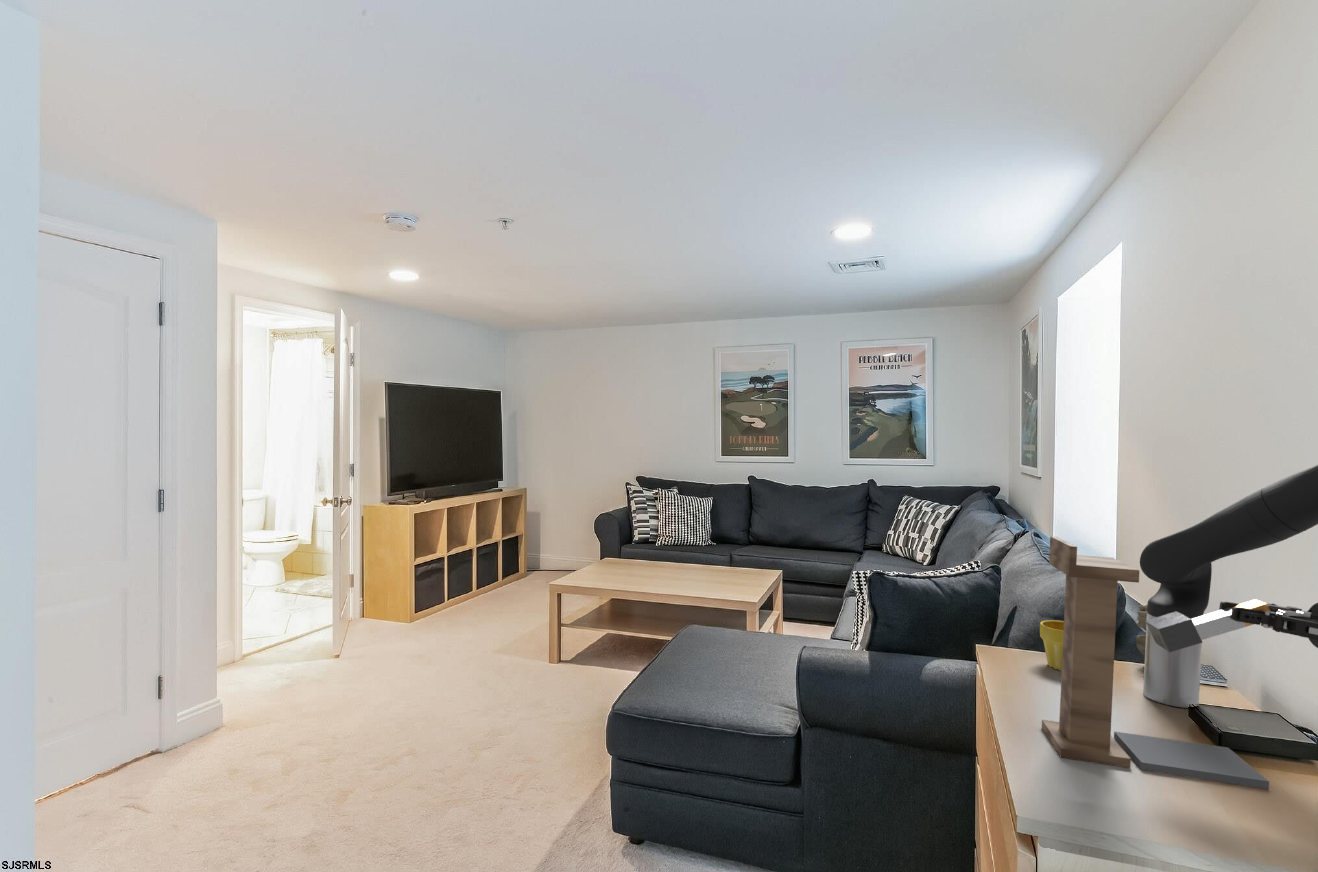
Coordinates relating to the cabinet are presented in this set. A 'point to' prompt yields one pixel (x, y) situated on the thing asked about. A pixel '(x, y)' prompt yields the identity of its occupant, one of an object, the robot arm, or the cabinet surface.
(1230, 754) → the rubber mat
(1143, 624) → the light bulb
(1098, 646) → the walnut stand
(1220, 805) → the cabinet surface
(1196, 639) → the grey block hammer
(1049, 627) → the plant pot
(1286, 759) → the cabinet surface
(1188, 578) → the robot arm
